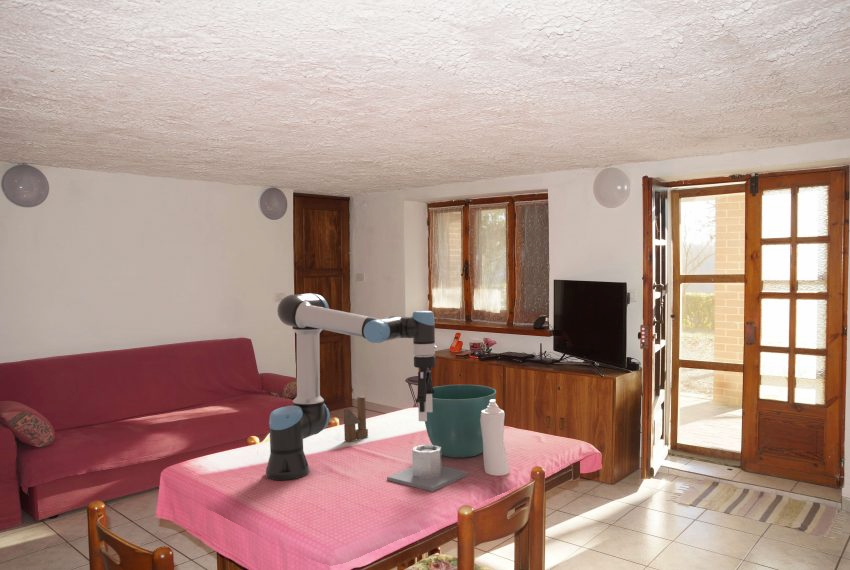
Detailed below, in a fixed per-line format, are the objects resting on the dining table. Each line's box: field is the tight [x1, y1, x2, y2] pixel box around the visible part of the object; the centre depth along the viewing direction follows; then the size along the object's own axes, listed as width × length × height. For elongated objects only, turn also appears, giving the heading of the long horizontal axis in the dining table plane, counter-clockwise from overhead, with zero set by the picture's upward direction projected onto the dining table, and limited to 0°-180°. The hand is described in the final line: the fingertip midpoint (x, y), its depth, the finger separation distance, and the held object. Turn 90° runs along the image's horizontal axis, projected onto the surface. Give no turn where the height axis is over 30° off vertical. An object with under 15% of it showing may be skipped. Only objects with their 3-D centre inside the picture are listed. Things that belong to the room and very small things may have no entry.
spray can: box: [480, 399, 510, 477], centre depth 219 cm, size 12×11×25 cm
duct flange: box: [386, 449, 469, 493], centre depth 213 cm, size 20×20×9 cm
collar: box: [411, 444, 443, 479], centre depth 213 cm, size 10×10×9 cm
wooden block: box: [343, 395, 369, 443], centre depth 267 cm, size 4×11×18 cm, turn 139°
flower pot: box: [424, 384, 497, 459], centre depth 243 cm, size 30×30×24 cm
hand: (425, 416), depth 213 cm, fingers open, 13 cm apart
